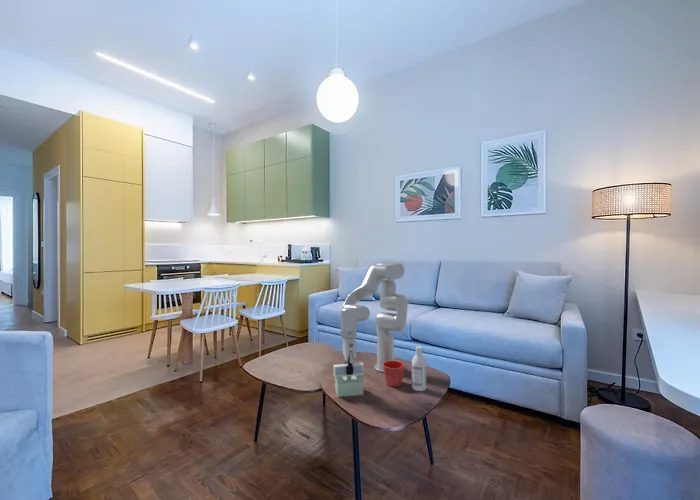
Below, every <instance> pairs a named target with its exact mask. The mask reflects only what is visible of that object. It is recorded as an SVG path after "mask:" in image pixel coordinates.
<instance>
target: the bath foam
mask: <svg viewBox="0 0 700 500" xmlns="http://www.w3.org/2000/svg"><path fill="white" fill-rule="evenodd" d="M411 389H412V390H413V391H417V392H424V391H426V390H427V361H426V359H425V358H424V356H423V348H422V346H416V347H415V355H414V356H413V358H412V360H411Z"/></svg>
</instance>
